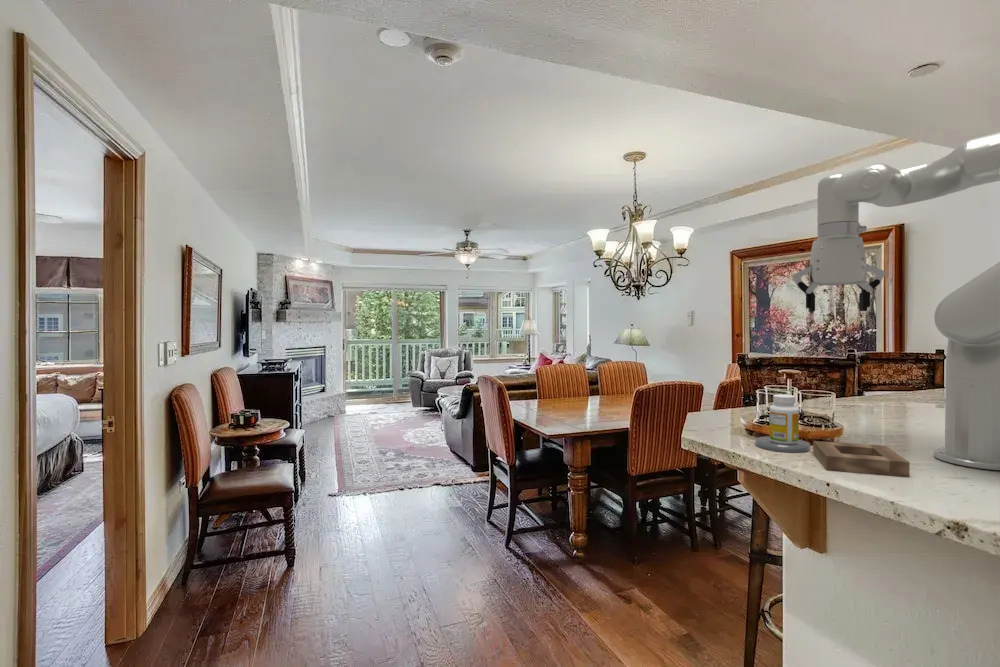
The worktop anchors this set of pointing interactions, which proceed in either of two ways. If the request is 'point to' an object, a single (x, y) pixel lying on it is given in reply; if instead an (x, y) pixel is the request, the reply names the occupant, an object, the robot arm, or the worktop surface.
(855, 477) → the worktop surface
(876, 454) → the frame
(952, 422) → the robot arm
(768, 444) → the coaster
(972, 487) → the worktop surface
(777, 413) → the supplement bottle
